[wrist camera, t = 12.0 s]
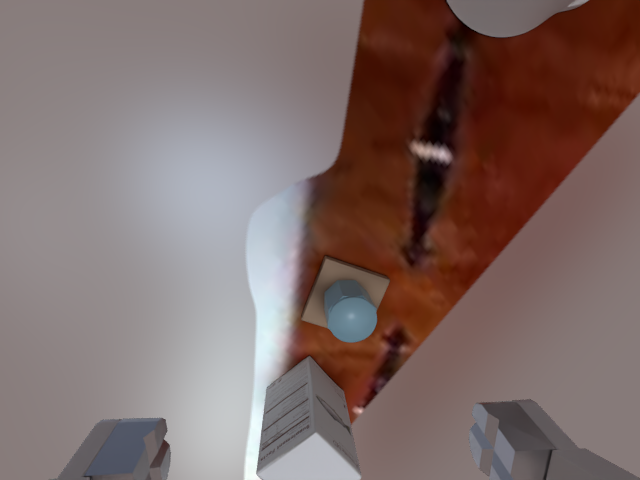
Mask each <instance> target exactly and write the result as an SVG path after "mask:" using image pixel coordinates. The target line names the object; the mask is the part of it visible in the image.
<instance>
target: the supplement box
mask: <svg viewBox="0 0 640 480" xmlns="http://www.w3.org/2000/svg"><path fill="white" fill-rule="evenodd" d="M256 474H257V476H258V477H259V478H261V479H262V480H359V479H361V472H360V467H359V462H358V457H357V453H356V448H355V443H354V438H353V434H352V429H351V424H350V419H349V414H348V409H347V404H346V399H345V395H344V391H343V390H342V389H341V388H340V387H338V386H337V385H336V384H335V383H334V382H333V381H332V380H331V379H330V378H329V376H328V375H327V374H326V373H325V372H324V371H323V370H322V369H321V368H320V367H319V366H318V364H317V363H316V362H315V361H314V360H313V359H312V358H311V356H308V357H307V358H306V359H304V360H303V361H301V362H300V363H299V364H297V365H296V366H295V367H293V368H292V369H291V370H289V371H288V372H287V373H285V374H284V375H283V376H281V377H280V378H279V379H278V380H276V381H275V382H274V383H272V384H271V385H270V386H268V387H267V390H266V398H265V406H264V415H263V423H262V431H261V440H260V448H259V457H258V465H257V472H256Z"/></svg>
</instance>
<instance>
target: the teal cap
mask: <svg viewBox="0 0 640 480" xmlns="http://www.w3.org/2000/svg"><path fill="white" fill-rule="evenodd" d="M324 293H325V294H324V311H325V316H326V321H327V326H328V328H329V329H330V330H331V332H332V333H333V335H334V336H335V337H337V338H338V339H340V340H342V341H345V342H358V341H361V340H363V339H365V338H367V337H368V336H369V335H370V334H371V333H372V332H373V330H374V329H375V326H376V323H377V315H376V307H375V305H374V303H373V301H372V300H371V298H370V296H369V294H368V292H367V291H366V290H365V289H364V288H363V287H362V286H361V285H360V284H359V283H358V282H357V281H356V280H337V281H336V282H335V283H334V284H333V285H332V286H331V287H330V288H329V289H328V290H327V291H325V292H324Z"/></svg>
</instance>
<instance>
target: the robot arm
mask: <svg viewBox="0 0 640 480" xmlns="http://www.w3.org/2000/svg"><path fill="white" fill-rule="evenodd" d="M587 1H589V0H447V2H448V4H449V6H450V8H451V9H452V10H453V12H454V13H455V14H456V16H457V17H458V18H459V19H460V20H461V21H462V22H463V23H464V24H466V25H467V26H468V27H470V28H471V29H473V30H475V31H477V32H479V33H481V34H484V35H488V36H492V37H511V36H516V35H520V34H523V33H525V32H528V31H530V30H532V29H534V28H535V27H537V26H538V25H540V24H541V23H543V22H544V21H545V20H547V19H548V18H549V17H551V16H552V15H554V14H556V13H558V12H562V11H567V10H571V9H574V8H577V7H579V6H581V5H583V4H584V3H586V2H587ZM472 416H473V417H474V419H475V421H476V423H475V424H474V425H473V426H472V427H471V429H470V434H469V443H470V449H471V453H472V456H473V458H474V461H475V463H476V464H477V466H478V468H479V469H480V470H481V471H483V472H484V473H485V474H486V475H488V476H489V480H640V478H639V477H637V476H635V475H633V474H631V473H629V472H628V471H626V470H624V469H622V468H620V467H618V466H617V465H615V464H613V463H611V462H609V461H607V460H606V459H604V458H602V457H600V456H598V455H596V454H594V453H592V452H591V451H589V450H587V449H579V448H578V447H577V446H576V445H575V443H574V442H572V440H571V439H570V438H569V437H568V436H567V435H566V434H565V433H564V432H563V431H562V430H561V429H560V427H559V426H558V425H557V424H556V423H555V422H554V421H553V420H552V419H551V418H550V417H549V416H548V415H547V413H546V412H545V411H544V410H543V409H542V408H541V407H540V406H539V405H538V404H537V403H536V402H535V401H533V400H531V399H527V400H513V401H501V402H482V403H476V404H475V405H474V407H473V412H472ZM166 433H167V426H166V420H165V419H163V418H136V419H135V418H134V419H110V420H101V421H100V422H98V423H97V424H96V425H95V426H94V428H93V429H92V431H91V432H90V433H89V435H88V436H87V437H86V439H85V440H84V442H83V443H82V444H81V446H80V447H79V449H78V450H77V451H76V453H75V454H74V456H73V457H72V458H71V460H70V461H69V463H68V464H67V465H66V467H65V468H64V469H63V471H62V472H61V474H60V475H59V476H58V478H57V479H50V480H166V479H167V477H168V472H169V467H170V455H171V452H170V445H169V444H168V443H167V442H166V441H165V440H164V437H165V435H166Z"/></svg>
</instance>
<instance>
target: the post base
mask: <svg viewBox="0 0 640 480" xmlns="http://www.w3.org/2000/svg"><path fill="white" fill-rule="evenodd" d="M337 280H356V281H357V282H358V283H359V284H360V285H361V286H362V287H363V288H364V289H365V290H366V291H367V292H368V294H369V296H370V298H371V300H372V301H373V303H374V305H375V307H376V311H377V309H378V307H379V304H380V302H381V300H382V298H383V295H384V293H385V291H386V289H387V286H388V284H389V282H390V279H389V278H388V277H387V276H384V275H381V274H378V273H375V272H372V271H369V270H366V269H363V268H360V267H358V266H355V265H352V264H349V263H346V262H343V261H340V260H337V259H334V258H331V257H328V256H325V257H324V259H323V262H322V265H321V267H320V270H319V272H318V275H317V277H316V280H315V282H314V285H313V287H312V290H311V292H310V295H309V297H308V300H307V303H306V305H305V308H304V310H303V313H302V315H301V317H302V320H303V321H306V322H310V323H313V324H316V325H319V326H323V327H326V328H328V326H327V321H326V316H325V311H324V294H325V293H324V292H325V291H327V290H328V289H329V288H330V287H331V286H332V285H333V284H334V283H335V282H336V281H337Z"/></svg>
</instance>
